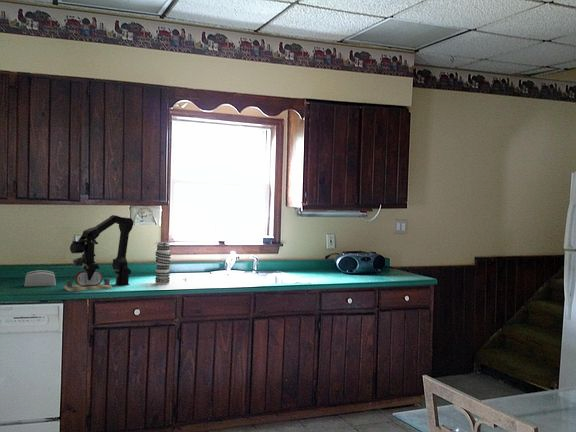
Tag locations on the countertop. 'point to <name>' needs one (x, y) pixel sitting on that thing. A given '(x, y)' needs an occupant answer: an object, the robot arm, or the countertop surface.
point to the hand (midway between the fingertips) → (88, 280)
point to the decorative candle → (162, 263)
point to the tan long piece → (80, 288)
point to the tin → (83, 280)
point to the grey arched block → (40, 278)
